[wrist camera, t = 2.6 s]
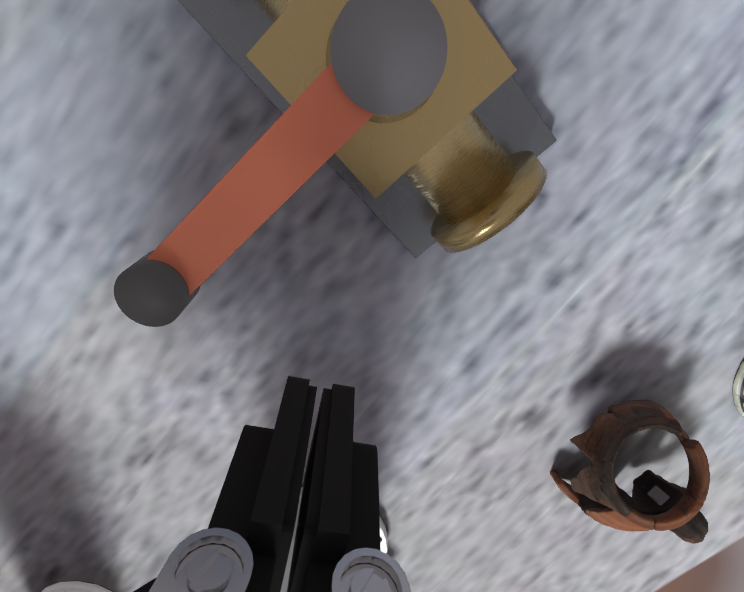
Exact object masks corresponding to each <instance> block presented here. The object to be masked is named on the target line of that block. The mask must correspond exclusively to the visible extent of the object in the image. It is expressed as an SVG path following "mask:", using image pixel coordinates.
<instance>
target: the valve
mask: <svg viewBox="0 0 744 592" xmlns="http://www.w3.org/2000/svg"><path fill="white" fill-rule="evenodd" d="M178 1H179V2H180V3H181V4H182V5H183V6H184V7H185V8H186V9H187V11H188V12H189V13H190V14H191V15H192V16H193V17H194V18H195V19H196V20H197V21H198V23H199V24H200V25H201V26H202V27H203V28H204V29H205V30H206V31H207V32H208V33H209V34H210V36H211V37H212V38H213V39H214V40H215V41H216V42H217V43H218V44H219V45H220V46H221V47H222V49H223V50H224V51H225V52H226V53H227V54H228V55H229V56H230V57H231V58H232V59H233V60H234V62H235V63H236V64H237V65H238V66H239V67H240V68H241V69H242V70H243V71H244V72H245V73H246V75H247V76H248V77H249V78H250V79H251V80H252V81H253V82H254V83H255V84H256V85H257V87H258V88H259V89H260V90H261V91H262V92H263V93H264V94H265V95H266V96H267V97H268V98H269V100H270V101H271V102H272V103H273V104H274V105H275V106H276V107H277V108H278V109H279V110H280V111H281V113H282V114H283V113H284V112H285V111H286V110H287V109H288V108H289V107H290V106H291V105H292V104H293V103H294V102H295V100H296V99H297V98H298V97H299V96H300V95H301V94H302V93H303V92H304V91H305V90H306V89H307V88H308V87H309V86H310V85H311V83H312V82H313V81H314V80H315V79H316V78H317V77H318V76H319V75H320V74H321V73H322V72H323V71H324V70H325V69H326V68H327V66H328V65H329V64H330V63H331V62H332V61H331V50H330V48H331V37H332V32H333V28H334V25H335V22H336V20H337V18H338V16H339V14H340V12H341V10H342V9H343V7H344V6H345V5H346V3H347V2H348V1H349V0H178ZM430 1H431V2H432V3H433V4H434V6H435V7H436V9H437V10H438V12H439V14H440V16H441V18H442V20H443V23H444V27H445V30H446V35H447V46H448V48H447V59H446V65H445V68H444V72H443V75H442V77H441V79H440V81H439V83H438V85H437V87H436V88H435V90H434V91H433V92H432V94H431V95H430V96H429V97H428V98H427V99H426V100H425V101H424V102H423V103H421V104H420V105H419V106H417V107H416V108H414V109H412V110H410V111H408V112H405V113H401V114H397V115H379V114H374V115H373V116H372V117H371V118H370V119H369V120H368V121H367V122H366V123H365V124H364V125H363V126H362V127H361V128H360V129H359V130H358V131H357V132H356V133H355V134H354V135H353V136H352V137H351V138H350V139H349V140H348V141H347V142H346V143H344V144H343V145H342V146H341V147H340V148H339V149H338V150H337V151H336V152H335V153H334V154H333V155H332V156H331V157H330V158H329V159H328V160H327V162H328V164H329V165H330V166H331V167H332V168H333V169H334V170H335V171H336V172H337V173H338V174H339V175H340V177H341V178H342V179H343V180H344V181H345V182H346V183H347V184H348V185H349V186H350V187H351V188H352V190H353V191H354V192H355V193H356V194H357V195H358V196H359V197H360V198H361V199H362V200H363V201H364V203H365V204H366V205H367V206H368V207H369V208H370V209H371V210H372V211H373V212H374V213H375V214H376V216H377V217H378V218H379V219H380V220H381V221H382V222H383V223H384V224H385V225H386V226H387V228H388V229H389V230H390V231H391V232H392V233H393V234H394V235H395V236H396V237H397V238H398V239H399V241H400V242H401V243H402V244H403V245H404V246H405V247H406V248H407V249H408V250H409V251H410V252H411V254H412V255H413V256H414V257H415V258H416V257H418V256H419V255H420V254H421V253H422V252H424V251H425V250H426V249H427V248H428V247H430V246H431V245H432V244H433V243H434V242H435V241H437V242H438V243H439V244H440V246H441V247H442V248H443V249H444V250H445V251H447V252H460V251H464V250H467V249H470V248H472V247H474V246H476V245H479V244H480V243H482V242H484V241H486V240H488V239H489V238H491V237H493V236H494V235H496V234H497V233H498V232H500V231H501V230H503V229H504V228H505V227H507V226H508V225H509V224H510V223H511V222H513V221H514V220H515V219H516V218H517V217H518V216H519V215H520V214H522V213H523V212H524V211H525V209H526V208H527V207H528V206H529V205H530V204H531V203H532V202H533V201H534V199H535V198H536V197H537V195H538V194H539V192H540V191H541V189H542V187H543V185H544V183H545V180H546V176H547V173H546V170H545V168H544V167H543V166H542V164H541V163H540V161H539V160H538V159H537V156H538V155H540V154H541V153H542V152H543V151H544V150H546V149H547V148H548V147H549V146H550V145H552V144H553V143H554V142H555V141H556V138H555V137H554V135H553V134H552V133H551V131H550V130H549V128H548V127H547V125H546V124H545V122H544V121H543V120H542V118H541V117H540V115H539V114H538V112H537V111H536V109H535V108H534V106H533V105H532V104H531V102H530V101H529V99H528V98H527V96H526V95H525V93H524V92H523V91H522V89H521V88H520V86H519V85H518V83H517V82H516V80H515V79H514V78H513V76H512V74H513V73H514V72H516V71H517V69H516V68H515V67H514V65H513V64H512V62H511V61H510V59H509V58H508V56H507V55H506V53H505V52H504V50H503V49H502V48H501V46H500V45H499V43H498V42H497V40H496V39H495V37H494V36H493V34H492V33H491V31H490V30H489V29H488V27H487V26H486V24H485V23H484V21H483V20H482V18H481V17H480V15H479V14H478V12H477V11H476V10H475V8H474V7H473V5H472V4H471V2H470V1H469V0H430Z"/></svg>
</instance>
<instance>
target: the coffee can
mask: <svg viewBox="0 0 744 592" xmlns="http://www.w3.org/2000/svg"><path fill="white" fill-rule="evenodd" d="M733 399H734V403H735V406H736V408H737V409H738V411H739V412H740V413H741V415H742V416H743V417H744V361H743V362H742V363H741V365H740V368H739V370H738V372H737V374H736V377H735V380H734V384H733Z"/></svg>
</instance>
